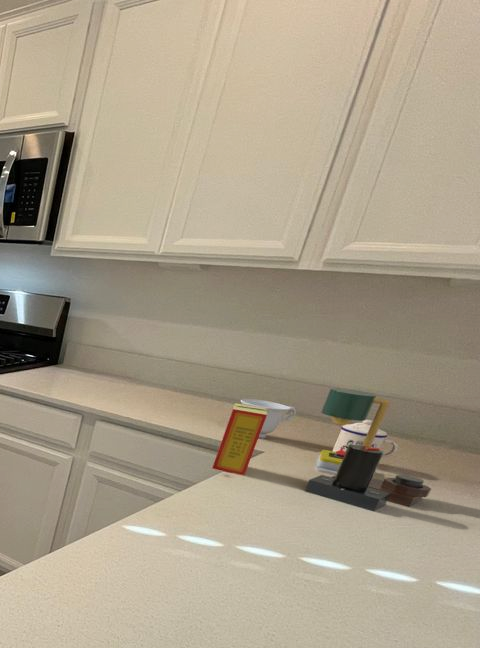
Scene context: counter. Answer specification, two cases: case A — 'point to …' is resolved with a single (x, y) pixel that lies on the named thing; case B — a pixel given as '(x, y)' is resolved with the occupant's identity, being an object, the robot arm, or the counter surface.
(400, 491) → the lamp base
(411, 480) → the lamp button
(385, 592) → the counter surface
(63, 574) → the counter surface
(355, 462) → the black pen holder
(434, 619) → the counter surface
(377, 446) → the teacup with lid
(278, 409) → the teacup
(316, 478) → the dimmer panel
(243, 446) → the baking soda box
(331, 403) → the desk lamp
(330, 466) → the emergency button
